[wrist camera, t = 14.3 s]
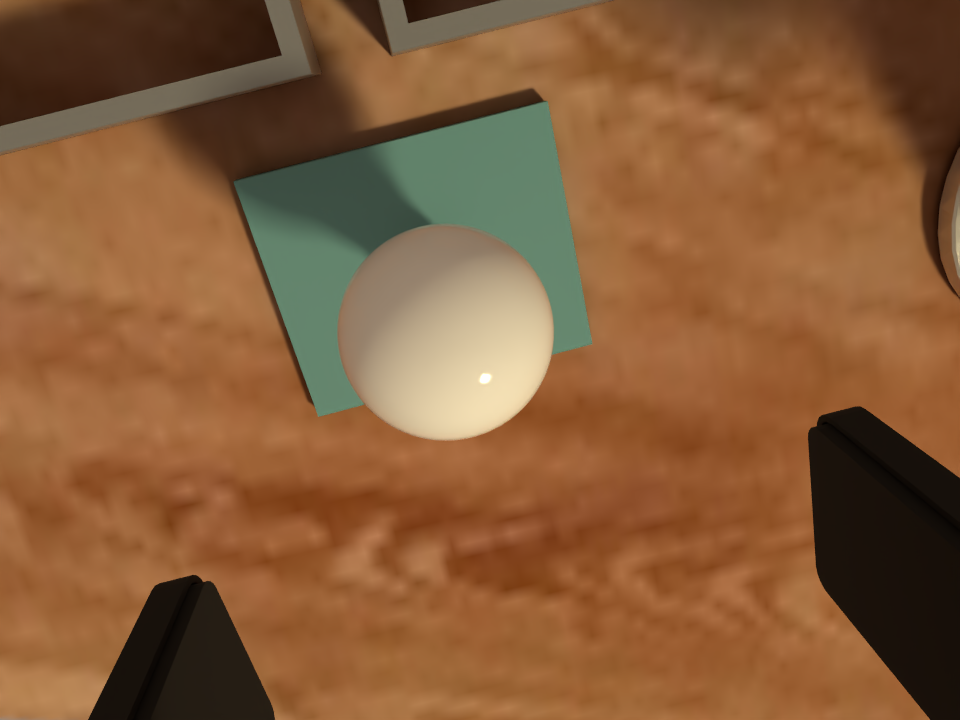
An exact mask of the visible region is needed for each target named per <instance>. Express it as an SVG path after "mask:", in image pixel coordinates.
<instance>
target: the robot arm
mask: <svg viewBox="0 0 960 720" xmlns="http://www.w3.org/2000/svg"><path fill="white" fill-rule="evenodd" d="M938 240H939V248H940V256H941V261H942V264H943V266H944V269H945V272H946V275H947V278H948V280H949V282H950V284H951V285H952V287H953V288H954V290H955V291H956V293H957V294H958V296H959V297H960V147H959V149H958V151H957V153H956V156H955V158H954V161H953V163H952V165H951V168H950V170H949V173H948V175H947V178H946V182H945V186H944V190H943V194H942V198H941V202H940V207H939V222H938ZM808 443H809V459H810V476H811V492H812V508H813V524H814V540H815V556H816V568H817V573H818V576H819V579H820V581H821V583H822V585H823V587H824V589H825V590H826V592H827V593H828V594H829V595H830V597H831V598H832V599H833V600H834V602H835V603H836V604H837V605H838V606H839V608H840V609H841V610H842V611H843V613H844V614H845V615H846V616H847V618H848V619H849V620H850V621H851V622H852V624H853V625H854V626H855V627H856V629H857V630H858V631H859V632H860V634H861V635H862V636H863V637H864V638H865V640H866V641H867V642H868V643H869V645H870V646H871V647H872V648H873V650H874V651H875V652H876V653H877V655H878V656H879V657H880V658H881V659H882V661H883V662H884V663H885V664H886V666H887V667H888V668H889V669H890V671H891V672H892V673H893V674H894V675H895V677H896V678H897V679H898V680H899V682H900V683H901V684H902V685H903V687H904V688H905V689H906V690H907V692H908V693H909V694H910V695H911V696H912V698H913V699H914V700H915V701H916V703H917V704H918V705H919V706H920V708H921V709H922V710H923V711H924V712H925V714H926V715H927V716H928V717H929V719H930V720H960V478H959V477H958V476H956V475H955V474H953V473H952V472H951V471H949V470H948V469H947V468H945V467H944V466H942V465H941V464H940V463H938V462H937V461H936V460H934V459H933V458H932V457H930V456H929V455H927V454H926V453H925V452H923V451H922V450H921V449H919V448H918V447H916V446H915V445H914V444H912V443H911V442H910V441H908V440H907V439H906V438H904V437H903V436H901V435H900V434H899V433H897V432H896V431H895V430H893V429H892V428H890V427H889V426H888V425H886V424H885V423H884V422H882V421H881V420H880V419H878V418H877V417H875V416H874V415H873V414H871V413H870V412H869V411H867V410H866V409H864V408H862V407H852V408H848V409H844V410H840V411H836V412H832V413H829V414H825V415H821V416H820V417H819V419H818V422H817V426H816V427H812V428H811V429H810V430H809V433H808ZM88 720H275V717H274V711H273V708H272V705H271V703H270V700H269V698H268V696H267V694H266V692H265V690H264V688H263V686H262V684H261V681H260V679H259V677H258V675H257V673H256V671H255V669H254V667H253V665H252V662H251V660H250V658H249V656H248V654H247V652H246V650H245V648H244V646H243V643H242V641H241V639H240V637H239V635H238V633H237V631H236V629H235V627H234V624H233V622H232V620H231V618H230V616H229V614H228V612H227V610H226V608H225V605H224V603H223V601H222V599H221V597H220V595H219V593H218V591H217V589H216V587H215V585H214V584H213V583H212V582H210V581H206V582H203V581H202V580H201V579H200V578H199V577H198V576H196V575H191V576H187V577H183V578H179V579H175V580H171V581H167V582H163V583H159V584H157V585H155V587H154V588H153V590H152V591H151V593H150V595H149V597H148V599H147V601H146V603H145V605H144V607H143V609H142V611H141V613H140V616H139V618H138V620H137V622H136V624H135V626H134V628H133V630H132V632H131V634H130V636H129V638H128V640H127V642H126V644H125V646H124V648H123V650H122V652H121V654H120V656H119V658H118V660H117V662H116V664H115V666H114V668H113V670H112V672H111V674H110V676H109V678H108V680H107V682H106V684H105V686H104V688H103V691H102V693H101V695H100V697H99V699H98V701H97V703H96V705H95V707H94V709H93V711H92V713H91V715H90V717H89V719H88Z"/></svg>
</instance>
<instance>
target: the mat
mask: <svg viewBox="0 0 960 720" xmlns="http://www.w3.org/2000/svg"><path fill="white" fill-rule="evenodd" d="M234 185H235V188H236V191H237V193H238V196H239V199H240V202H241V204H242V207H243V210H244V213H245V215H246V218H247V221H248V224H249V226H250V229H251V232H252V235H253V237H254V240H255V243H256V246H257V249H258V251H259V254H260V257H261V260H262V262H263V265H264V268H265V271H266V273H267V276H268V279H269V282H270V284H271V287H272V290H273V293H274V295H275V298H276V301H277V304H278V306H279V309H280V312H281V315H282V317H283V320H284V323H285V326H286V329H287V331H288V334H289V337H290V340H291V342H292V345H293V348H294V351H295V353H296V356H297V359H298V362H299V364H300V367H301V370H302V373H303V375H304V378H305V381H306V384H307V386H308V389H309V392H310V395H311V398H312V400H313V403H314V406H315V409H316V411H317V414H318V417H319V416H323V415H327V414H331V413H334V412H338V411H342V410H346V409H349V408H353V407H357V406H361V405H364V403H363V402H362V400H361V399H360V398H359V397H358V395H357V394H356V392H355V391H354V389H353V388H352V386H351V384H350V382H349V380H348V378H347V376H346V374H345V371H344V369H343V366H342V363H341V359H340V355H339V349H338V342H337V321H338V313H339V308H340V304H341V301H342V297H343V295H344V292H345V290H346V287H347V285H348V283H349V281H350V279H351V278H352V276H353V274H354V273H355V271H356V270H357V268H358V267H359V266H360V264H361V263H362V262H363V261H364V260H365V258H366V257H367V256H368V255H369V254H370V253H371V252H373V251H374V250H375V249H376V248H377V247H378V246H380V245H381V244H383V243H384V242H385V241H387V240H389V239H390V238H392V237H394V236H396V235H398V234H400V233H402V232H404V231H407V230H410V229H413V228H416V227H420V226H424V225H430V224H441V223H448V224H460V225H466V226H471V227H475V228H478V229H481V230H484V231H486V232H489V233H491V234H493V235H495V236H497V237H499V238H500V239H502V240H504V241H505V242H507V243H508V244H510V245H511V246H512V247H514V248H515V249H516V250H517V251H518V252H519V253H520V254H521V255H522V256H523V257H524V258H525V259H526V260H527V261H528V262H529V263H530V265H531V266H532V267H533V269H534V270H535V271H536V273H537V275H538V276H539V278H540V280H541V282H542V284H543V286H544V288H545V290H546V292H547V295H548V298H549V301H550V305H551V309H552V314H553V322H554V343H553V351H552V355H553V354H556V353H560V352H564V351H568V350H572V349H575V348H579V347H583V346H587V345H590V344H592V339H591V334H590V329H589V323H588V318H587V312H586V307H585V301H584V296H583V291H582V285H581V280H580V274H579V269H578V263H577V258H576V253H575V247H574V242H573V236H572V231H571V225H570V220H569V215H568V209H567V204H566V198H565V193H564V187H563V182H562V177H561V171H560V166H559V160H558V155H557V149H556V144H555V139H554V133H553V128H552V122H551V117H550V111H549V106H548V101H542V102H538V103H534V104H530V105H526V106H522V107H518V108H514V109H510V110H507V111H503V112H499V113H495V114H491V115H487V116H483V117H479V118H475V119H471V120H467V121H464V122H460V123H456V124H452V125H448V126H444V127H440V128H436V129H432V130H428V131H424V132H421V133H417V134H413V135H409V136H405V137H401V138H397V139H393V140H389V141H385V142H381V143H378V144H374V145H370V146H366V147H362V148H358V149H354V150H350V151H346V152H342V153H338V154H335V155H331V156H327V157H323V158H319V159H315V160H311V161H307V162H303V163H299V164H295V165H292V166H288V167H284V168H280V169H276V170H272V171H268V172H264V173H260V174H256V175H252V176H249V177H245V178H241V179H237V180H235V181H234Z"/></svg>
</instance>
